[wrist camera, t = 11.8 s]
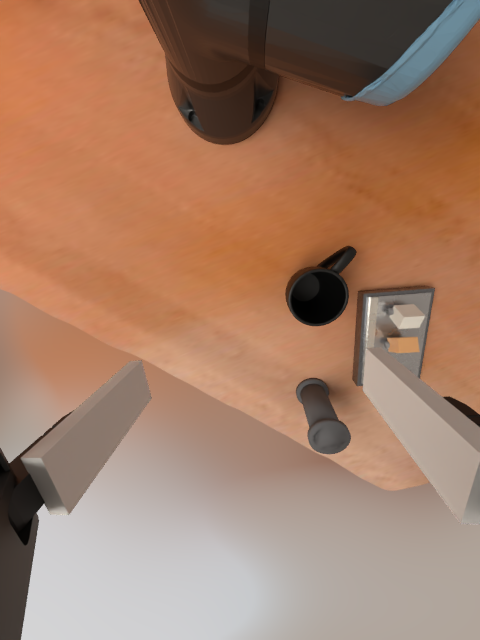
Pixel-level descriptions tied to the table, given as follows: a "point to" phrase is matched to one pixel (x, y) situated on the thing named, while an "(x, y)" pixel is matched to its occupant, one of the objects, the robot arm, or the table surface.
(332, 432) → the dark grey flanged cylinder
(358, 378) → the breaker strip
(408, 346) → the paddle mid
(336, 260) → the mug
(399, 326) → the paddle
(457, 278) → the table surface
